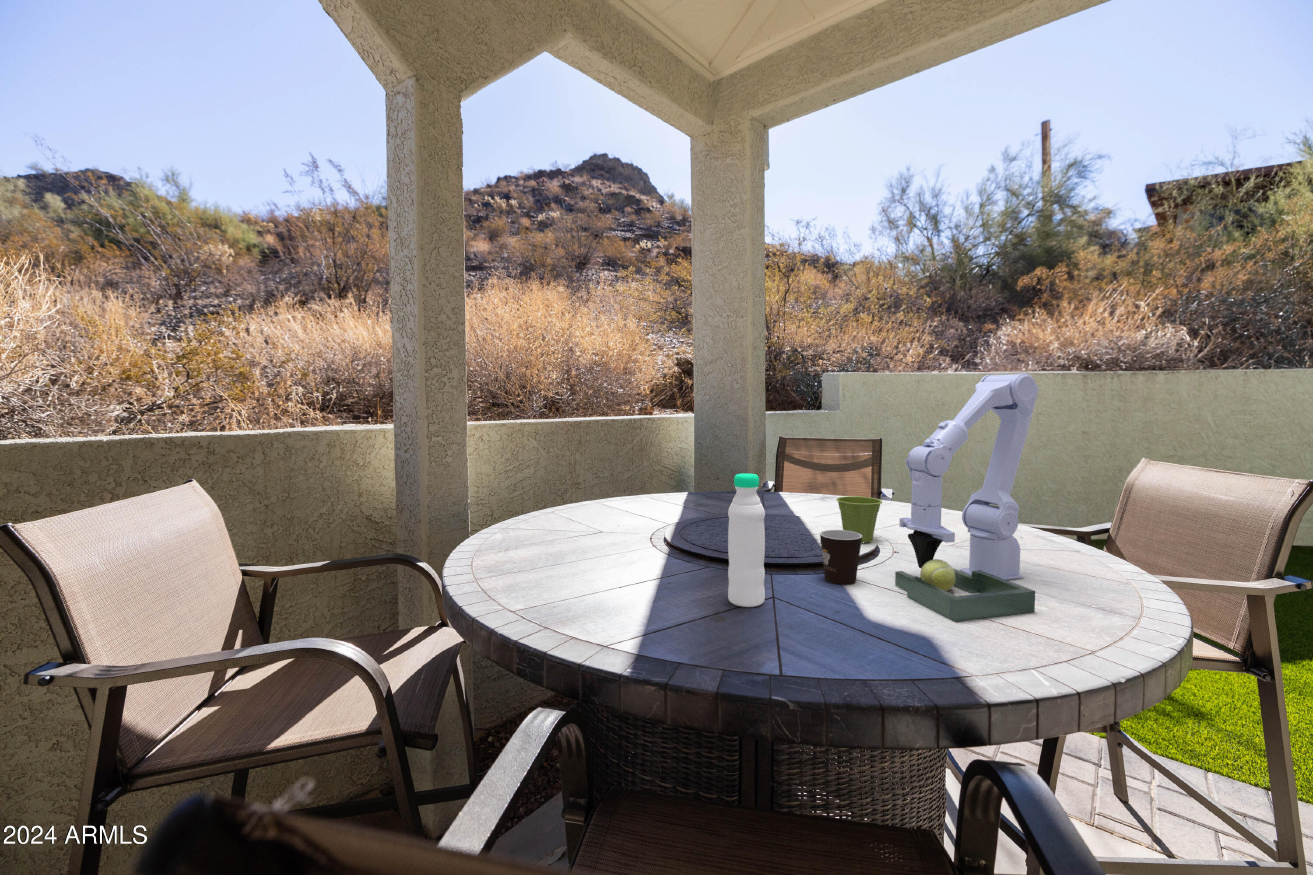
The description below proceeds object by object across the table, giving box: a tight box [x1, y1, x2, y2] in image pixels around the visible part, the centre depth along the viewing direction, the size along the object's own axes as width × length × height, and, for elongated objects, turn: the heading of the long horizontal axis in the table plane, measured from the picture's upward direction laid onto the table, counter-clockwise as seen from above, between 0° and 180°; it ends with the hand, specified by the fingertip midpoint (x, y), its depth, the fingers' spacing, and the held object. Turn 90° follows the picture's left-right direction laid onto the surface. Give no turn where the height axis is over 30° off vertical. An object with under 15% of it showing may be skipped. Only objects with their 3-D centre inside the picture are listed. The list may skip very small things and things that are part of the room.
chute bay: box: [894, 567, 1036, 623], centre depth 114 cm, size 17×20×4 cm
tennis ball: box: [919, 558, 956, 592], centre depth 119 cm, size 6×7×7 cm
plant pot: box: [835, 495, 883, 544], centre depth 158 cm, size 12×12×11 cm
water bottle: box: [727, 472, 766, 608], centre depth 113 cm, size 7×7×25 cm
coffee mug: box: [819, 529, 862, 586], centre depth 127 cm, size 12×9×10 cm
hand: (924, 567), depth 123 cm, fingers closed
